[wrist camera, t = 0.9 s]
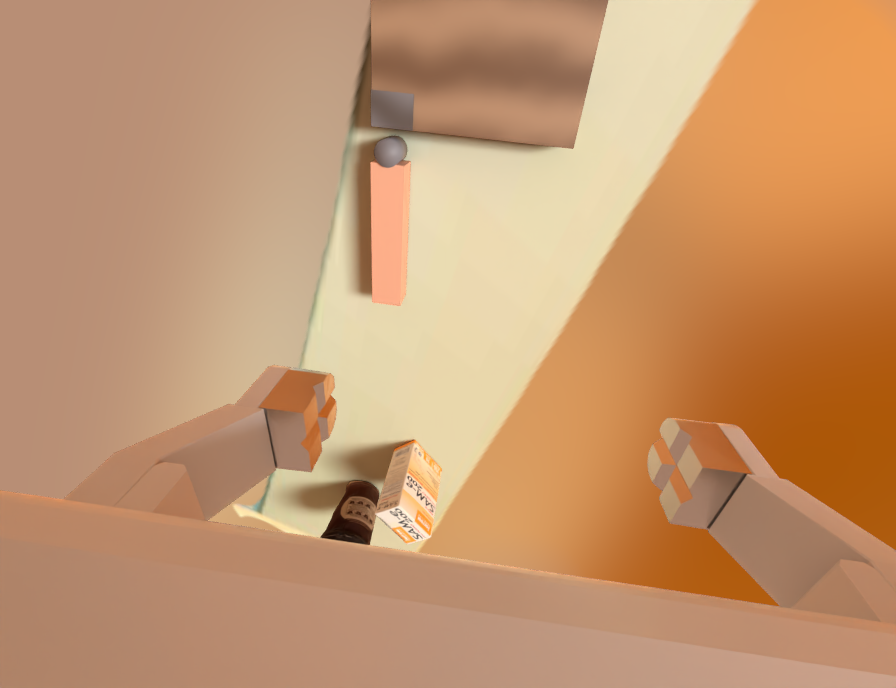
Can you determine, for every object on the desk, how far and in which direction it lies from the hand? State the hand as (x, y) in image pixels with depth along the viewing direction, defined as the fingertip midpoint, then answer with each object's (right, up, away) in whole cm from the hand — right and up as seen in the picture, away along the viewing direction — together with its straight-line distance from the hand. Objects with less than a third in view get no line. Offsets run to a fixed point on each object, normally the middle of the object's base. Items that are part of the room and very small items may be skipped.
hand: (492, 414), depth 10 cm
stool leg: (-8, +16, +38) cm, 42 cm away
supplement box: (-6, -18, +59) cm, 62 cm away
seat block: (+2, +28, +29) cm, 41 cm away
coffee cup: (-17, -26, +66) cm, 72 cm away
